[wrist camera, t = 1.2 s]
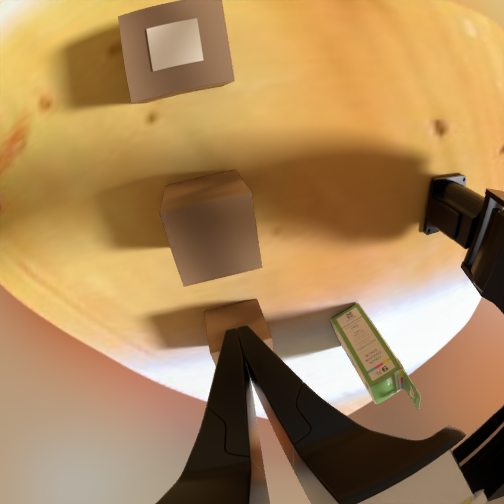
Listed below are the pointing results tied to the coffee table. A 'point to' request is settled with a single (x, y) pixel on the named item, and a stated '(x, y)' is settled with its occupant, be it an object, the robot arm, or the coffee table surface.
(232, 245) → the plain block
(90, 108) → the coffee table surface
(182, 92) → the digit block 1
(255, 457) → the robot arm
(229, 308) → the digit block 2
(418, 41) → the coffee table surface
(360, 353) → the ink box
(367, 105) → the coffee table surface
